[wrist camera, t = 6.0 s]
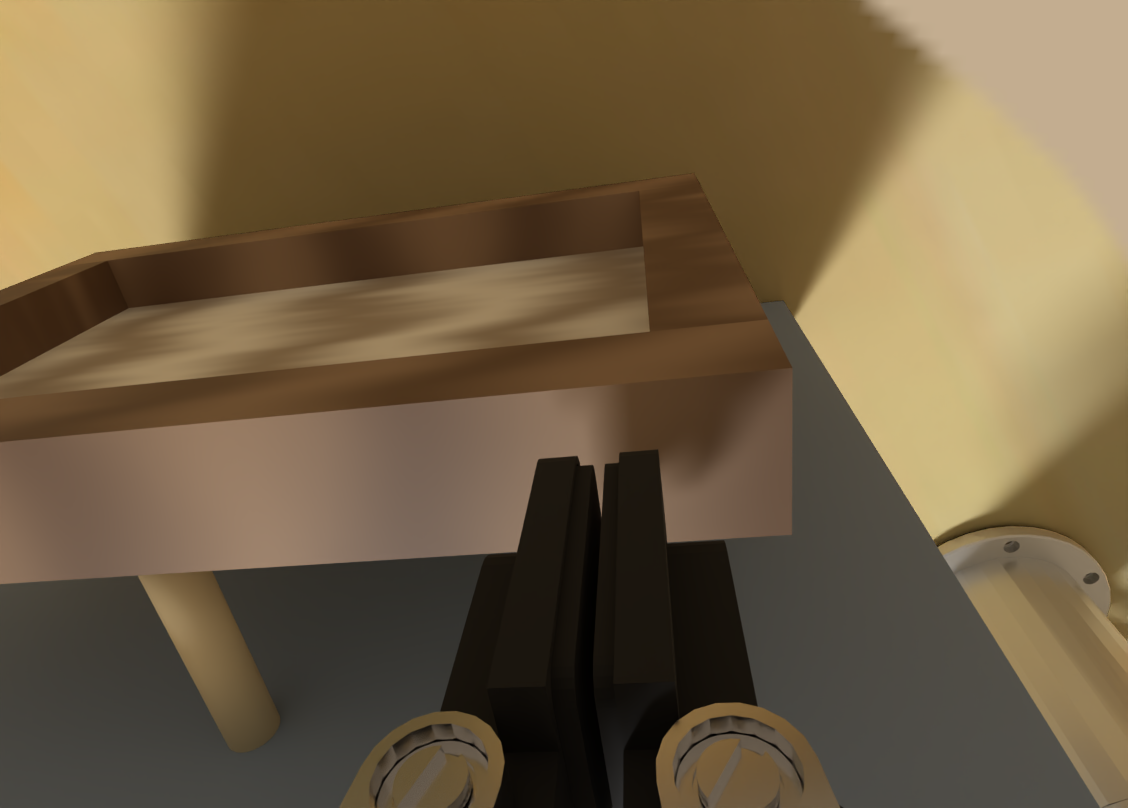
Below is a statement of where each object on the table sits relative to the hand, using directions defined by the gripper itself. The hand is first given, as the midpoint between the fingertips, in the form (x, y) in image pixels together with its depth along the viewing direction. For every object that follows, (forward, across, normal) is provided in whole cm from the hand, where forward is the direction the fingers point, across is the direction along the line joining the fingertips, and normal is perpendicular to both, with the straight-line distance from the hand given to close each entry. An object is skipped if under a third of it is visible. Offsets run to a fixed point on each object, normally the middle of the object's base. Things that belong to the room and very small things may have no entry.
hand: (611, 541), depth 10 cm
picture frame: (+18, +9, 0) cm, 21 cm away
